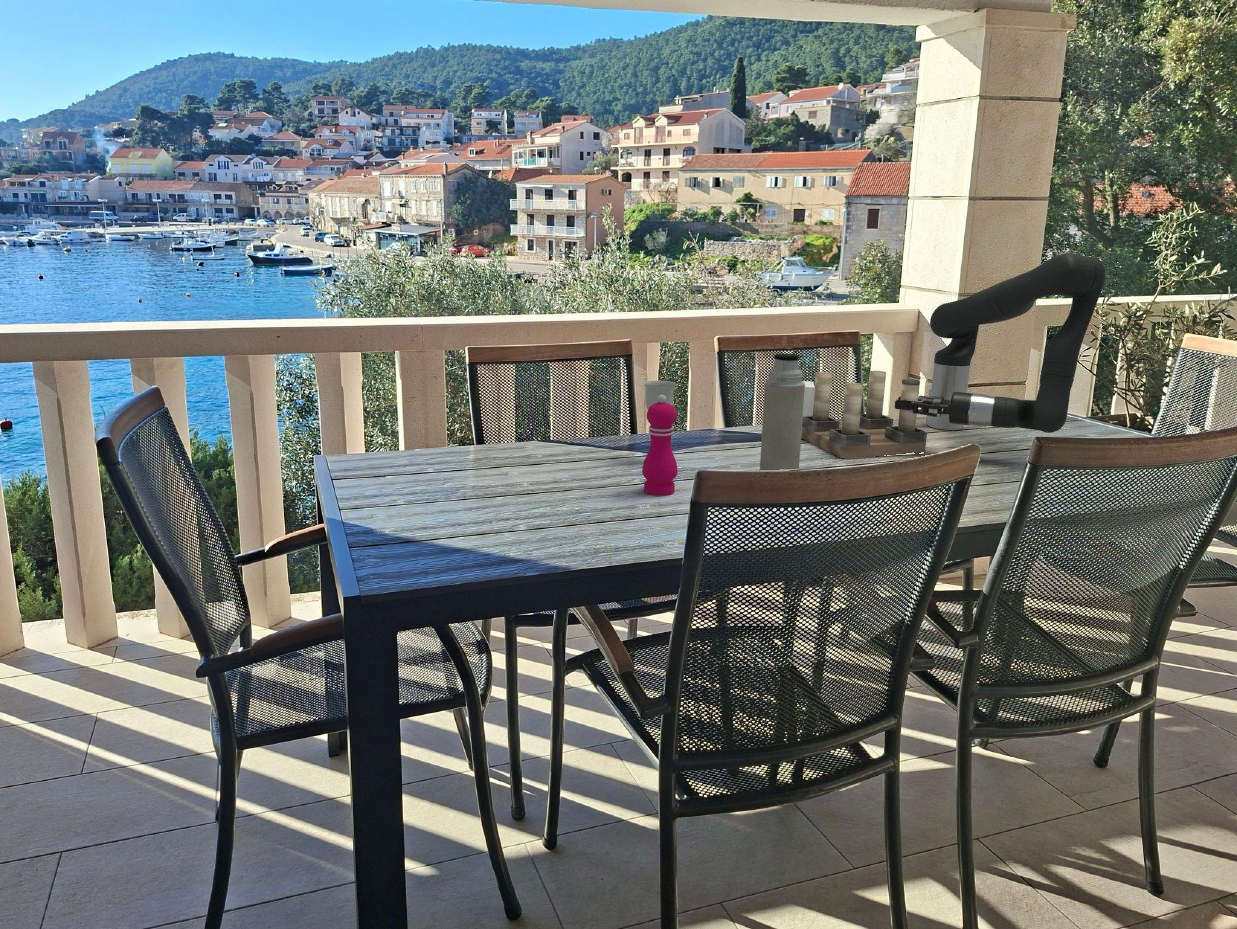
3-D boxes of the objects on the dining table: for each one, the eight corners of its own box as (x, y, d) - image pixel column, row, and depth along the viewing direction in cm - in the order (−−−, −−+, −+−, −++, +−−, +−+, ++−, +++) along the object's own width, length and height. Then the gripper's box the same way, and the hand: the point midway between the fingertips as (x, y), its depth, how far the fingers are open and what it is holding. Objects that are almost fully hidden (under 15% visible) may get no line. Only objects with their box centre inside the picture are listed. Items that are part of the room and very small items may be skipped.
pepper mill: (663, 498, 189) (666, 399, 183) (634, 491, 193) (636, 395, 188) (683, 490, 194) (687, 394, 189) (654, 484, 198) (657, 390, 193)
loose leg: (893, 436, 230) (898, 379, 226) (908, 435, 231) (913, 378, 228) (902, 440, 226) (908, 382, 223) (917, 439, 227) (923, 381, 224)
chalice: (677, 459, 218) (680, 382, 214) (666, 466, 212) (669, 387, 208) (648, 455, 221) (650, 379, 217) (636, 462, 215) (638, 384, 211)
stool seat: (800, 437, 242) (804, 371, 238) (877, 433, 248) (883, 369, 243) (842, 459, 222) (848, 387, 217) (924, 454, 227) (932, 384, 223)
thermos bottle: (768, 480, 203) (776, 350, 195) (803, 487, 199) (813, 353, 191) (752, 489, 196) (760, 354, 189) (788, 496, 192) (798, 358, 185)
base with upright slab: (787, 424, 257) (790, 380, 254) (821, 426, 256) (824, 382, 253) (788, 431, 248) (791, 386, 245) (823, 433, 247) (826, 388, 244)
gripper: (976, 388, 226) (902, 382, 233) (971, 398, 214) (893, 391, 220) (973, 419, 228) (899, 412, 235) (967, 431, 216) (890, 423, 222)
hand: (897, 402), depth 228 cm, fingers closed on loose leg, 4 cm apart
